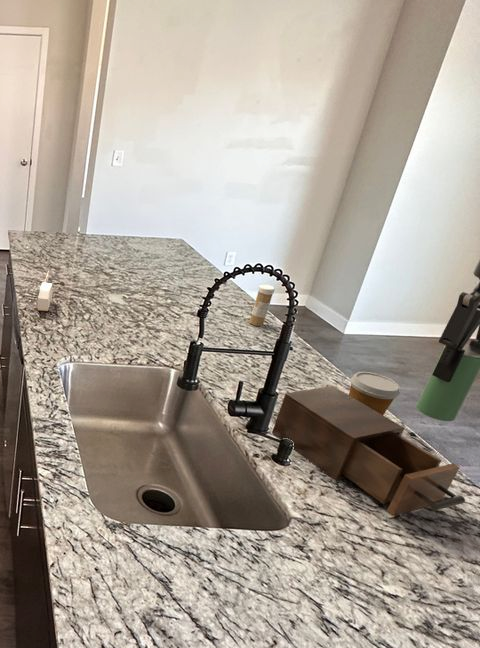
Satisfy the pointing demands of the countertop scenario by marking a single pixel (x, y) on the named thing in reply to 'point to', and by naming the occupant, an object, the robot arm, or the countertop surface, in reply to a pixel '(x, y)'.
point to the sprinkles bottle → (261, 305)
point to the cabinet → (329, 426)
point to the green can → (450, 388)
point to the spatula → (45, 295)
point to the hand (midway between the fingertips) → (453, 375)
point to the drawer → (401, 474)
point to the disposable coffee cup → (373, 390)
